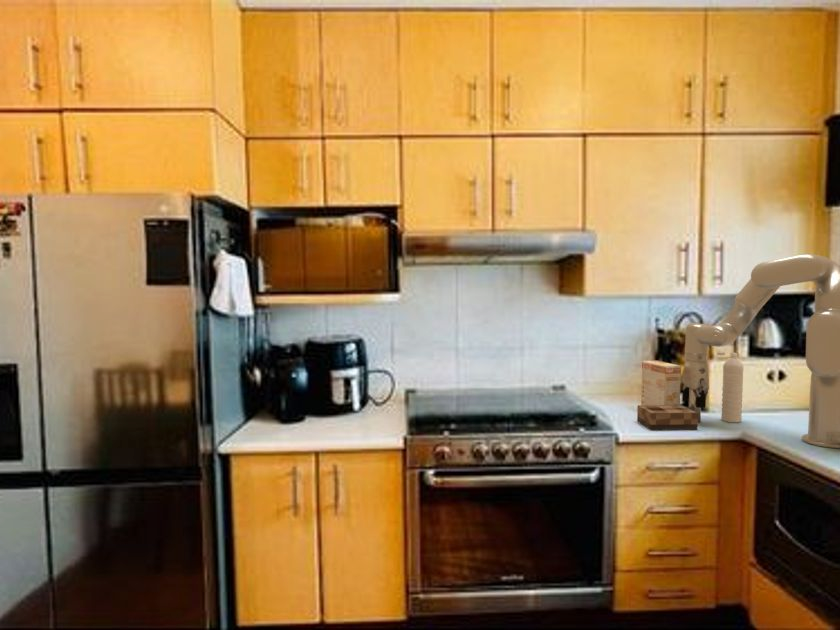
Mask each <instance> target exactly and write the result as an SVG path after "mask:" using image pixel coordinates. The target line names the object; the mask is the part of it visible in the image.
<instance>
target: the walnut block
mask: <svg viewBox="0 0 840 630" xmlns="http://www.w3.org/2000/svg"><path fill="white" fill-rule="evenodd" d="M636 414H637V417H636V418H637V419H636V421H637V422H638V424H641V425H642V426H643V427H645V428H647V429H648V430H650V431H698V425H699V423H698V413H697V412H695V411H693V410H691V409H689V407H686V406H684V405H682V404H680V405H641V404H638V405H637V413H636Z"/></svg>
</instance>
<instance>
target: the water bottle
mask: <svg viewBox="0 0 840 630" xmlns="http://www.w3.org/2000/svg"><path fill="white" fill-rule="evenodd" d="M725 354H726V352H724V351H717V353H716V355H718V356H725ZM722 368H723V369H722V374H723V375H722V388H721V389H722V394H721V395H722V398H721V402H722V403H721V420H722V421H724V422H729V423H741V422H742V419H743V418H742V413H743V410H742V408H743V393H744V392H743V391H744V390H743V386H744V385H743V384H744V383H743V382H744V381H743V380H744V365H743V363H742V361H741V360H740V359H739V357H738V352H730V353H729V357H728V358H727V359H726V361H725V362H724V364H723V366H722Z"/></svg>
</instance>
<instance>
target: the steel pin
mask: <svg viewBox="0 0 840 630" xmlns="http://www.w3.org/2000/svg"><path fill="white" fill-rule="evenodd" d="M700 392H701V391H700ZM696 396H698V395H697V392H696V390H693V389H691V388H689V401H688V408H689V409H691V410H693V411H695V412H697V413H698V424H699V423H701V417H702V416H701V413H702V411H701V410H702V408H697V407H696Z"/></svg>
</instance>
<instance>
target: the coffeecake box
mask: <svg viewBox="0 0 840 630" xmlns="http://www.w3.org/2000/svg"><path fill="white" fill-rule="evenodd" d="M641 365H642V366H641V393H640V394H641V395H640V397H641V400H640V405H681V382H682V375H681V374H682V373H681V372H682V370H681V369H682V365H678V364H674V363H670V362H665V361H661V360H642V362H641Z"/></svg>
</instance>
